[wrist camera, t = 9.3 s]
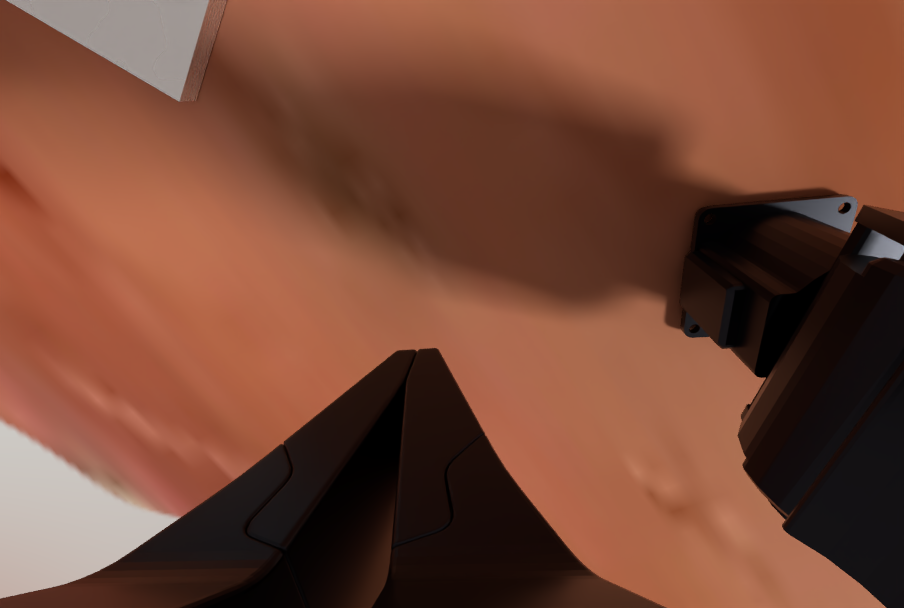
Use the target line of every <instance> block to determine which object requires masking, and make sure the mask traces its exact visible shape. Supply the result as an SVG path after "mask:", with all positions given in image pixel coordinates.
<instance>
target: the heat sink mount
mask: <svg viewBox="0 0 904 608" xmlns="http://www.w3.org/2000/svg"><path fill="white" fill-rule="evenodd" d="M6 1H8V2H10V3H12V4H13V5H15V6H17V7H18V8H20V9H22V10H24V11H25V12H27V13H29V14H30V15H32V16H34V17H35V18H37V19H39V20H41V21H42V22H44V23H46V24H47V25H49V26H51V27H53V28H54V29H56V30H58V31H59V32H61V33H63V34H64V35H66V36H68V37H70V38H71V39H73V40H75V41H76V42H78V43H80V44H82V45H83V46H85V47H87V48H88V49H90V50H92V51H93V52H95V53H97V54H99V55H100V56H102V57H104V58H105V59H107V60H109V61H111V62H112V63H114V64H116V65H117V66H119V67H121V68H123V69H124V70H126V71H128V72H129V73H131V74H133V75H134V76H136V77H138V78H140V79H141V80H143V81H145V82H146V83H148V84H150V85H152V86H153V87H155V88H157V89H158V90H160V91H162V92H163V93H165V94H167V95H169V96H170V97H172V98H174V99H175V100H177V101H179V102H185V101H196V99H197V96H198V93H199V90H200V86H201V83H202V80H203V77H204V73H205V70H206V67H207V64H208V60H209V57H210V54H211V51H212V47H213V44H214V41H215V38H216V34H217V31H218V28H219V25H220V21H221V18H222V15H223V12H224V8H225V5H226V2H227V0H6Z"/></svg>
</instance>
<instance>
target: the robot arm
mask: <svg viewBox="0 0 904 608" xmlns="http://www.w3.org/2000/svg"><path fill="white" fill-rule="evenodd" d="M842 203H844V207H843V209H841V210H840V211H838V208H839V206H840V205H841V204H842ZM857 204H858V203H857V200H856V199H855V198H853V197H851V196H848V195H842V194H840V195H828V196H817V197H805V198H794V199H782V200H771V201H759V202H748V203H736V204H724V205H713V206H706V207H703V208H701V209H700V210H699V211H698V212H697V213H696V215H695V219H694V226H693V234H692V242H691V250H690V252H689V253H688V254H687V255H686V257H685V261H684V269H683V277H682V285H681V293H680V301H679V303H680V305H681V306H682V307H683V312H682V320H681V329H682V331H683V332H684V333H685V335H686V336H688V337H692V338H695V337H710V338H711V339H712V340H713V341H714V342H715V343H716V344H717V345H718V346H719V347H720V348H722V349H728V348H730V349H731V350H732V351H733V352H734V353H735V354H736V355H737V356H738V358H739V359H740V360H741V361H742V362H743V363H744V364H745V365H746V366H747V367H748V368H749V369H750V370H751V371H752V372H753V373H754V374H755V375H756V376H757V377H761V378H764V377H766V379H765V381H764V382H763V384H762V386H761V388H760V389H759V391H758V393H757V394H756V396H755V398H754V399H753V401H752V403H751V404H748V405H747V406H746V407H745V409H744V411H743V412H742V414H741V419H742V422H741V425H740V429H739V432H738V438H739V441H740V444H741V447H742V450H743V453H744V455H745V456H746V459H745V461H744V462H743V465H742V466H743V468H744V470H745V472H746V473H747V475H748V476H749V478H750V479H751V480H752V482H753V483H754V484H755V485H756V487H757V488H758V489H759V491H760V492H761V493H762V494H763V495H764V496H765V497H766V498H767V499H768V501H769V502H770V503H771V505H772V506H773V507H774V508H775V509H776V510H777V511H778V512H779V513H780V515H781V516H782V517H783V518H784V519H786V520H785V521H784V523H783V524H782V527H783V529H784V530H785V531H786V532H787V533H788V534H789V535H791V536H792V537H794V538H796V539H797V540H799V541H800V542H802V543H804V544H805V545H807V546H809V547H810V548H812V549H813V550H815V551H817V552H818V553H820V554H821V555H823V556H825V557H826V558H827V559H829V560H830V561H831V562H833V563H834V564H835V565H837V566H838V567H839V568H840V569H842V570H843V571H844V572H846V573H847V574H848V575H849V576H851V577H852V578H853V579H855V580H856V581H857V582H859V583H860V584H861V585H862V586H863V587H864V588H866V589H867V590H868V591H869V592H870V593H871V594H872V595H873V596H874V597H875V598H877V599H878V600H879V601H880V602H881V603H882V604H883V605H884V606H885V607H886V608H904V212H899V211H894V210H889V209H884V208H879V207H874V206H869V205H863V207H862V209H861V210H860V212H859V214H858V216H857V217H856V219H855V221H856V222H858V223H857V225H856V226H855V228H854V230H853V231H852V233H850V231H851V227H852V224H853V220H854V217H855V213H856V210H857ZM708 214H712V218H711V220H710V221H709V222H706V223H705V222H704V219H705V217H706V216H707V215H708ZM694 324H697V325H696V327H695V328H694V329H689V328H690V326H692V325H694ZM0 608H666V607H664V606H662V605H660V604H657V603H655V602H653V601H651V600H649V599H646V598H644V597H642V596H640V595H638V594H635V593H633V592H631V591H629V590H627V589H624V588H622V587H620V586H618V585H616V584H613V583H611V582H609V581H607V580H605V579H603V578H601V577H599V576H598V575H596V574H595V573H593V572H592V571H591V570H590V569H588V568H587V567H586V566H585V565H584V564H583V563H582V562H581V561H580V560H579V559H578V558H577V557H576V556H575V555H574V554H573V553H572V552H571V550H570V549H569V548H568V547H567V546H566V544H565V543H564V542H563V541H562V540H561V538H560V537H559V536H558V535H557V533H556V532H555V531H554V530H553V528H552V527H551V526H550V525H549V523H548V522H547V521H546V520H545V518H544V517H543V516H542V515H541V513H540V512H539V511H538V510H537V508H536V507H535V506H534V505H533V503H532V502H531V501H530V500H529V498H528V497H527V496H526V495H525V493H524V492H523V491H522V490H521V488H520V487H519V486H518V484H517V483H516V482H515V480H514V479H513V478H512V476H511V475H510V474H509V472H508V471H507V470H506V468H505V467H504V465H503V463H502V462H501V460H500V459H499V457H498V455H497V454H496V452H495V450H494V449H493V447H492V445H491V443H490V442H489V440H488V438H487V436H485V433H484V431H483V429H482V428H481V426H480V424H479V422H478V420H477V418H476V417H475V415H474V413H473V411H472V409H471V408H470V406H469V404H468V402H467V400H466V399H465V397H464V395H463V393H462V391H461V389H460V388H459V386H458V384H457V382H456V380H455V379H454V377H453V375H452V373H451V371H450V369H449V368H448V366H447V364H446V362H445V360H444V359H443V357H442V355H441V353H440V351H439V350H438V349H437V348H429V349H419V350H418V351H416V350H399V351H396V352H395V353H393V354H392V355H391V356H390V357H388V358H387V359H386V360H385V361H384V362H382V363H381V364H380V365H379V366H377V367H376V368H375V369H374V370H372V371H371V372H370V373H369V374H367V375H366V376H365V377H364V378H362V379H361V380H360V381H359V382H357V383H356V384H355V385H354V386H352V387H351V388H350V389H349V390H347V391H346V392H345V393H344V394H343V395H341V396H340V397H339V398H338V399H336V400H335V401H334V402H333V403H331V404H330V405H329V406H328V407H326V408H325V409H324V410H323V411H321V412H320V413H319V414H318V415H316V416H315V417H314V418H313V419H311V420H310V421H309V422H308V423H306V424H305V425H304V426H303V427H301V428H300V429H299V430H298V431H296V432H295V433H294V434H293V435H291V436H290V437H289V438H288V439H287V440H285V441H284V445H283V444H280V445H279V446H278V447H276V448H275V449H274V450H273V451H271V452H270V453H269V454H268V455H266V456H265V457H264V458H263V459H261V460H260V461H259V462H257V463H256V464H255V465H254V466H252V467H251V468H250V469H248V470H247V471H246V472H244V473H243V474H242V475H241V476H239V477H238V478H237V479H235V480H234V481H232V482H231V483H230V484H228V485H227V486H225V487H224V488H223V489H221V490H220V491H218V492H217V493H216V494H214V495H213V496H211V497H210V498H208V499H207V500H206V501H204V502H203V503H201V504H200V505H198V506H197V507H195V508H194V509H192V510H191V511H190V512H188V513H187V514H185V515H184V516H182V517H181V518H179V519H178V520H177V521H175V522H174V523H172V524H171V525H169V526H168V527H166V528H165V529H164V530H162V531H161V532H159V533H158V534H156V535H155V536H154V537H152V538H151V539H149V540H148V541H146V542H145V543H143V544H142V545H140V546H139V547H138V548H136V549H135V550H133V551H132V552H130V553H129V554H127V555H126V556H124V557H122V558H121V559H120V560H118V561H116V562H115V563H113V564H111V565H109V566H107V567H105V568H103V569H101V570H100V571H98V572H95V573H93V574H91V575H88V576H86V577H84V578H81V579H79V580H76V581H73V582H70V583H67V584H64V585H60V586H56V587H52V588H48V589H43V590H38V591H33V592H29V593H24V594H19V595H15V596H10V597H6V598H1V599H0Z"/></svg>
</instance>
